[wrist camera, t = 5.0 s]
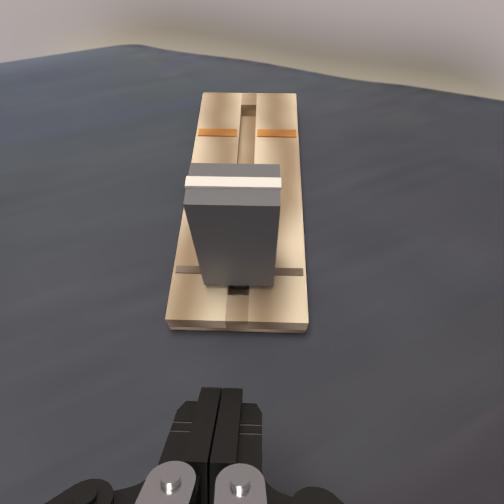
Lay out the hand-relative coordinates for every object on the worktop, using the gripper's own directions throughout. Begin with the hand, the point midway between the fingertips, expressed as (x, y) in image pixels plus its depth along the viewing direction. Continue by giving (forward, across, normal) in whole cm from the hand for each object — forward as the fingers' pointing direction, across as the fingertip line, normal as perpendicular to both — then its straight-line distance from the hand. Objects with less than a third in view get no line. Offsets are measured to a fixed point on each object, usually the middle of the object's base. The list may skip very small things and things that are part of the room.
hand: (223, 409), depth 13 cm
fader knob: (+16, 0, 0) cm, 16 cm away
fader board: (+23, 0, +6) cm, 23 cm away
